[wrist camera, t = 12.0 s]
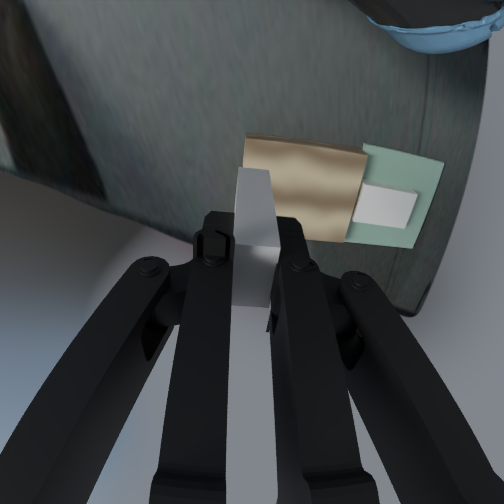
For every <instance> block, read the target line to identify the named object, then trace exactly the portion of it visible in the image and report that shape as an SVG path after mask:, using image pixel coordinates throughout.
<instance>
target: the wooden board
mask: <svg viewBox="0 0 504 504" xmlns="http://www.w3.org/2000/svg"><path fill="white" fill-rule="evenodd" d="M367 158H368V155H367V154H366V153H365V152H364V151H363V150H362V149H357V148H352V147H346V146H340V145H334V144H328V143H322V142H316V141H309V140H302V139H294V138H287V137H279V136H270V135H261V134H251V133H246V139H245V148H244V158H243V168H254V169H264V170H269V173H270V179H271V186H272V192H273V199H274V205H275V212H276V216H284V217H294V218H296V219H297V220H298V221H299V222H300V223H301V225H302V229H303V233H304V236H305V239H309V240H320V241H330V242H341V243H343V242H344V239H345V236H346V232H347V229H348V226H349V222H350V219H351V216H352V212H353V209H354V205H355V202H356V198H357V195H358V191H359V188H360V184H361V180H362V177H363V173H364V169H365V165H366V161H367Z"/></svg>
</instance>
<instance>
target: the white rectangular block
mask: <svg viewBox="0 0 504 504" xmlns="http://www.w3.org/2000/svg"><path fill="white" fill-rule="evenodd" d="M417 196H418V195H417V193H416V192H415V191H414V190H413V189H411V188H406V187H401V186H397V185H392V184H387V183H382V182H376V181H371V180H366V179H362V180H361V184H360V188H359V191H358V195H357V198H356V202H355V205H354V209H353V212H352V216H351V218H352V220H353V222H360V223H367V224H375V225H382V226H389V227H395V228H402V229H405V227H406V224H407V222H408V219H409V217H410V214H411V212H412V209H413V206H414V204H415V201H416V198H417Z"/></svg>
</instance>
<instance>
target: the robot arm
mask: <svg viewBox="0 0 504 504" xmlns="http://www.w3.org/2000/svg"><path fill="white" fill-rule="evenodd" d="M349 1H350V2H351V3H353V4H354V5H355V6H356V7H357V8H359V9H360V10H361V11H362V12H363V13H365V14H366V16H367V18H368V19H369V20H370V21H371V22H372V23H373V24H374V25H376V26H378V27H380V28H382V29H383V30H385V31H386V32H387V33H388V34H389V35H390V36H392V37H393V38H394V39H395V40H396V41H397V42H398V43H400V44H401V45H402V46H404V47H406V48H408V49H411V50H413V51H416V52H419V53H424V54H444V53H451V52H455V51H460V50H463V49H466V48H469V47H472V46H475V45H477V44H479V43H481V42H483V41H485V40H487V39H488V38H490V37H491V32H492V31H499V30H500V29H501V28H502V27H503V26H504V0H349ZM270 299H271V311H270V316H269V321H268V326H267V330H266V332H269V330H270V344H271V360H272V379H273V398H274V415H275V436H276V457H277V481H278V499H277V503H276V504H380V503H379V496H378V490H377V486H376V482H375V480H374V479H373V477H372V475H371V474H369V473H368V472H366V471H364V469H363V467H362V464H361V460H360V453H359V447H358V442H357V437H356V431H355V425H354V420H353V415H352V409H351V404H350V399H349V394H348V391H349V393H350V395H351V397H352V399H353V401H354V403H355V405H356V407H357V410H358V412H359V414H360V416H361V418H362V420H363V422H364V424H365V426H366V429H367V431H368V433H369V435H370V437H371V439H372V441H373V444H374V445H375V448H376V450H377V452H378V454H379V457H380V458H381V461H382V463H383V465H384V467H385V470H386V472H387V474H388V476H389V478H390V481H391V483H392V485H393V487H394V490H395V491H396V494H397V496H398V498H399V501H400V503H401V504H504V481H503V480H502V479H501V478H500V477H499V476H498V475H497V474H496V473H495V472H494V471H493V469H492V467H491V465H490V463H489V461H488V459H487V457H486V455H485V454H484V452H483V450H482V448H481V446H480V444H479V442H478V440H477V439H476V437H475V435H474V433H473V431H472V429H471V428H470V426H469V424H468V422H467V421H466V419H465V417H464V415H463V414H462V412H461V410H460V408H459V407H458V405H457V403H456V402H455V400H454V399H453V397H452V395H451V393H450V392H449V390H448V389H447V387H446V385H445V383H444V382H443V380H442V379H441V377H440V376H439V374H438V372H437V371H436V369H435V368H434V366H433V364H432V363H431V362H430V360H429V358H428V357H427V355H426V354H425V352H424V351H423V349H422V347H421V346H420V344H419V343H418V342H417V340H416V338H415V337H414V336H413V334H412V333H411V331H410V330H409V328H408V327H407V325H406V324H405V322H404V321H403V319H402V318H401V316H400V315H399V314H398V312H397V311H396V309H395V308H394V307H393V305H392V304H391V302H390V301H389V299H388V298H387V297H386V295H385V294H384V293H383V291H382V290H381V288H380V287H379V286H378V284H377V283H376V282H375V281H374V280H373V279H372V278H371V277H370V276H369V275H367V274H365V273H362V272H359V271H349V272H345V273H344V274H343V275H342V277H341V279H339V278H335V277H332V276H329V275H326V274H324V273H322V272H320V270H319V267H318V265H317V263H316V262H315V261H313V260H312V259H311V258H310V256H309V252H308V248H307V244H306V240H305V236H304V233H303V229H302V225H301V223H300V222H299V221H298V220H297V219H296V218H294V217H284V216H276V212H275V205H274V199H273V192H272V186H271V179H270V173H269V170H264V169H254V168H243V167H239V168H238V179H237V189H236V200H235V211H234V213H230V212H217V211H211V212H210V213H209V214H208V215H206V216H205V219H204V223H203V228H202V229H201V230H199V231H198V232H196V233H195V235H194V237H193V259H192V260H191V261H189V262H187V263H185V264H182V265H177V266H169V264H168V263H167V262H166V261H165V260H164V259H162V258H159V257H154V256H149V257H143V258H140V259H138V260H136V261H135V262H134V263H133V264H131V266H130V267H129V268H128V269H127V271H126V272H125V273H124V274H123V275H122V277H121V278H120V279H119V281H118V282H117V283H116V284H115V286H114V287H113V288H112V289H111V291H110V292H109V293H108V295H107V296H106V297H105V298H104V300H103V301H102V302H101V303H100V305H99V306H98V307H97V309H96V310H95V311H94V313H93V314H92V316H91V317H90V318H89V319H88V321H87V322H86V323H85V325H84V326H83V328H82V329H81V330H80V332H79V333H78V334H77V336H76V337H75V339H74V340H73V341H72V343H71V344H70V345H69V347H68V348H67V350H66V351H65V352H64V354H63V356H62V357H61V359H60V360H59V361H58V363H57V364H56V366H55V367H54V368H53V370H52V372H51V373H50V374H49V376H48V377H47V379H46V380H45V382H44V383H43V385H42V386H41V388H40V389H39V391H38V393H37V394H36V396H35V397H34V399H33V401H32V402H31V403H30V405H29V407H28V408H27V410H26V411H25V413H24V415H23V416H22V418H21V420H20V421H19V423H18V425H17V426H16V428H15V430H14V431H13V433H12V435H11V436H10V438H9V440H8V442H7V443H6V445H5V447H4V449H3V451H2V452H1V454H0V504H86V503H87V501H88V499H89V497H90V494H91V493H92V490H93V488H94V486H95V484H96V482H97V480H98V478H99V475H100V473H101V471H102V469H103V467H104V465H105V463H106V461H107V459H108V457H109V455H110V452H111V450H112V448H113V446H114V444H115V442H116V440H117V438H118V436H119V434H120V432H121V430H122V428H123V426H124V423H125V422H126V420H127V418H128V416H129V414H130V411H131V410H132V408H133V406H134V404H135V402H136V400H137V398H138V396H139V394H140V392H141V390H142V388H143V386H144V384H145V382H146V380H147V378H148V376H149V374H150V373H151V371H152V369H153V367H154V365H155V363H156V361H157V359H158V357H159V355H160V353H161V351H162V350H163V348H164V345H165V344H166V342H167V340H168V338H169V336H170V334H171V332H172V331H173V328H174V325H179V324H180V327H179V332H178V338H177V343H176V349H175V355H174V360H173V366H172V373H171V379H170V385H169V391H168V398H167V404H166V411H165V418H164V425H163V433H162V441H161V448H160V456H159V464H158V468H157V472H156V473H155V475H154V477H153V480H152V483H151V489H150V498H149V504H226V437H227V404H228V375H229V373H228V372H229V349H230V324H231V305H237V306H250V307H265V308H268V307H269V304H270Z"/></svg>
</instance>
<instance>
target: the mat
mask: <svg viewBox="0 0 504 504" xmlns="http://www.w3.org/2000/svg"><path fill="white" fill-rule="evenodd" d="M362 150H363V151H364V152H365V153H366V154H367V155H368V158H367V161H366V165H365V169H364V173H363V177H362V179H366V180H371V181H376V182H382V183H387V184H392V185H397V186H401V187H406V188H411V189H413V190H414V191H415V192H416V193H417V195H418V196H417V198H416V201H415V204H414V206H413V209H412V212H411V214H410V217H409V219H408V222H407V224H406V227H405V229H402V228H395V227H389V226H382V225H375V224H367V223H360V222H353V220H352V218H351V219H350V222H349V226H348V229H347V232H346V236H345V239H344V242H354V243H364V244H374V245H384V246H393V247H403V248H413V246H414V244H415V241H416V239H417V237H418V234H419V232H420V229H421V227H422V224H423V222H424V219H425V217H426V214H427V212H428V209H429V207H430V204H431V201H432V199H433V196H434V193H435V190H436V187H437V185H438V182H439V179H440V176H441V173H442V170H443V167H444V164H445V163H444V162H441V161H438V160H434V159H430V158H427V157H423V156H419V155H415V154H411V153H407V152H403V151H399V150H394V149H390V148H386V147H381V146H376V145H372V144H367V143H364V144H363V148H362Z"/></svg>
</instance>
